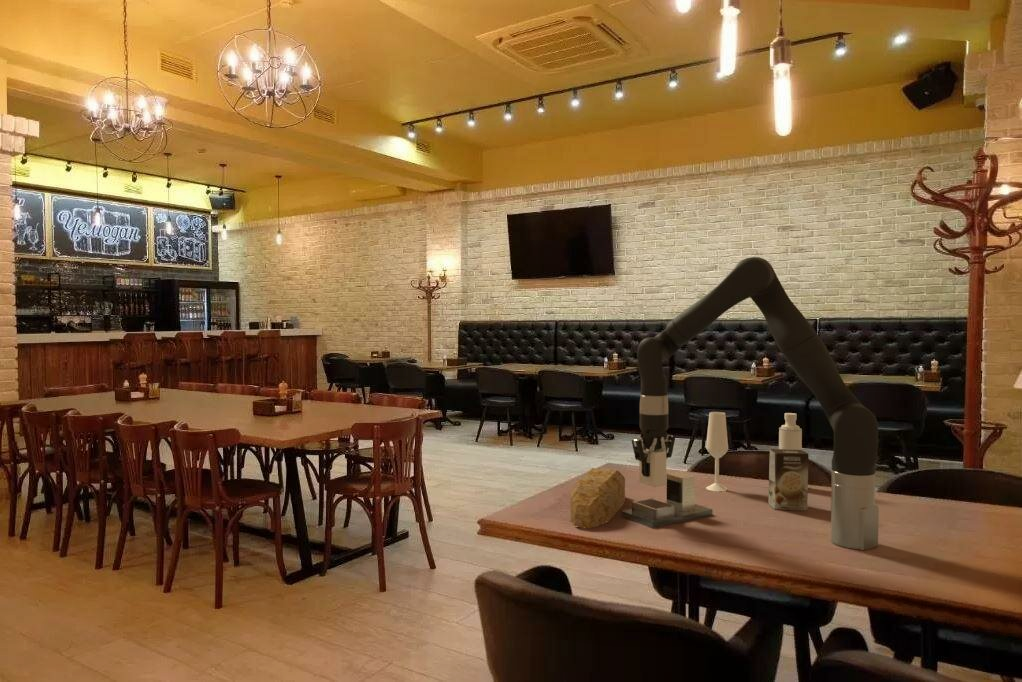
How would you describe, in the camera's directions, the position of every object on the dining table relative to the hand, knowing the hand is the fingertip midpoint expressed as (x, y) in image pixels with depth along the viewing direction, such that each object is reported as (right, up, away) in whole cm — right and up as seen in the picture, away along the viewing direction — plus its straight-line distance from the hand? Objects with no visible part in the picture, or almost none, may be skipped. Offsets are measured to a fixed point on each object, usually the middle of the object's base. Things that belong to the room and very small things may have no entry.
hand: (653, 474), depth 181 cm
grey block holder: (+4, -12, +3) cm, 13 cm away
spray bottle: (+50, -11, +34) cm, 62 cm away
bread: (-14, -12, +9) cm, 20 cm away
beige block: (0, -2, 0) cm, 2 cm away
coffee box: (+40, -12, +11) cm, 44 cm away
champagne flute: (+27, -11, +32) cm, 43 cm away
